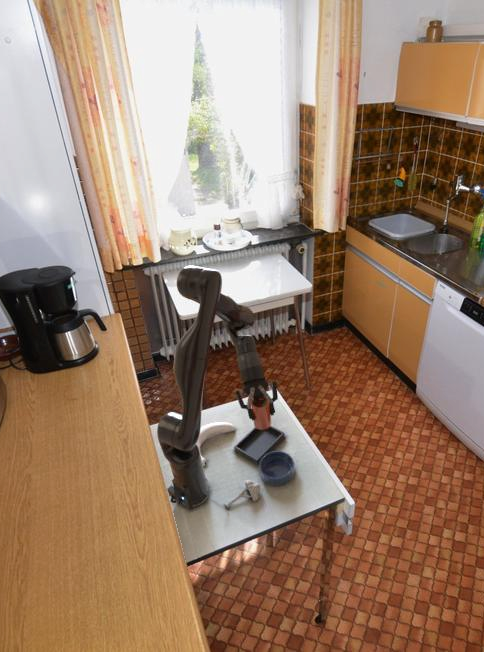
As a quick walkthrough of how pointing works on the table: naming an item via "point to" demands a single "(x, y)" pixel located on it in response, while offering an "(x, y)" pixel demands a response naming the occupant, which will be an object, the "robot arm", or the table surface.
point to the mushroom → (253, 489)
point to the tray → (259, 443)
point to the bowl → (276, 468)
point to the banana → (212, 433)
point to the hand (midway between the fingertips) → (263, 417)
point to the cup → (261, 412)
